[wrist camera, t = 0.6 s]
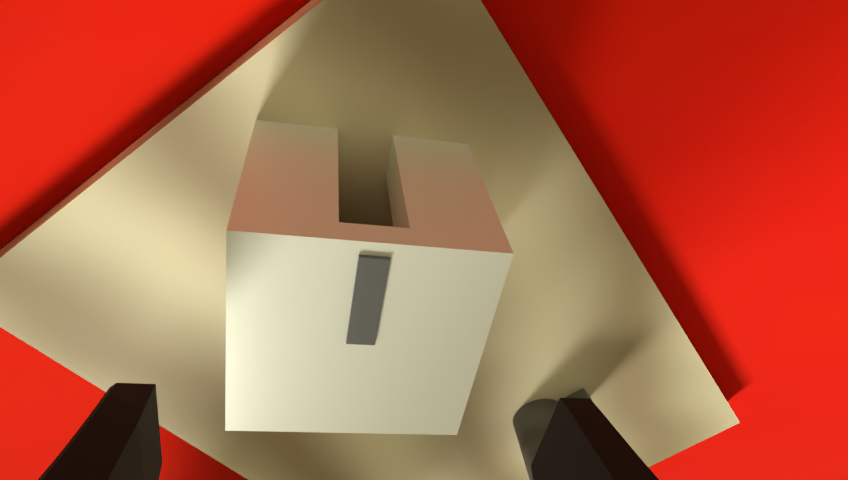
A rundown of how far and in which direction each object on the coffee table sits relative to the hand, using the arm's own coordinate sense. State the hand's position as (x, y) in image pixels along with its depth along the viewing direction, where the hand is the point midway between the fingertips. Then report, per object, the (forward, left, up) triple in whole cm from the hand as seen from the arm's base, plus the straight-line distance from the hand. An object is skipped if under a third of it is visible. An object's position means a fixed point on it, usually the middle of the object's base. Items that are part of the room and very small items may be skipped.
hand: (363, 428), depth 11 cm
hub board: (-2, -6, -8) cm, 10 cm away
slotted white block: (0, 0, -7) cm, 7 cm away
